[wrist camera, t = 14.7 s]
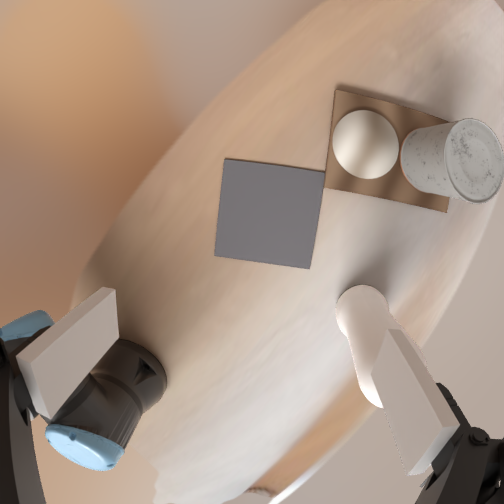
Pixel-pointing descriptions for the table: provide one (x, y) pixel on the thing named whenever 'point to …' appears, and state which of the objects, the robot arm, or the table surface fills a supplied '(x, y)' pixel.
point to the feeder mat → (268, 213)
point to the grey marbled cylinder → (455, 160)
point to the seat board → (375, 149)
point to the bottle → (367, 332)
